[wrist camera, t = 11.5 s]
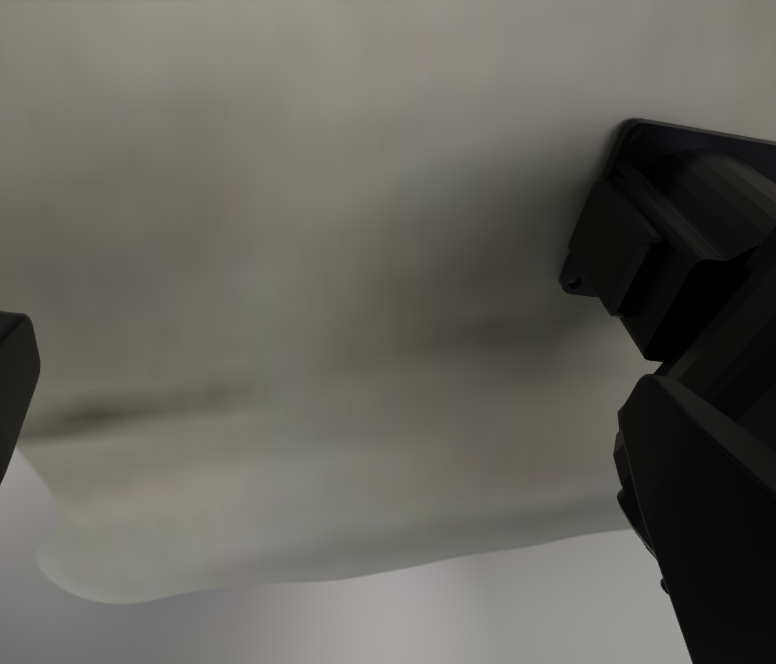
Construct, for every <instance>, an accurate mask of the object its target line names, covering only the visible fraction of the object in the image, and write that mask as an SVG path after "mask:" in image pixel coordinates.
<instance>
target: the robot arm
mask: <svg viewBox="0 0 776 664" xmlns="http://www.w3.org/2000/svg"><path fill="white" fill-rule="evenodd" d="M638 131H643V132H642V136H641V137H640V138H639V139H638V140H637V141H634V142H631V140H632V136H633V135H634V134H635V133H636V132H638ZM568 247H569V249H570V252H569V255H568V257H567V259H566V262H565V264H564V266H563V269H562V271H561V274H560V276H559V282H560V285H561V287H562V289H563V290H564V291H565V292H566V293H569V294H574V295H582V296H590V297H599V298H600V300H601V302H602V303H603V305H604V307H605V308H606V310H607V311H608V313H609V315H611V316H615V317H619V319H620V320H621V322H622V323H623V325H624V327H625V328H626V330H627V331H628V333H629V334H630V336H631V338H632V339H633V341H634V342H635V344H636V346H637V347H638V349H639V350H640V352H641V354H642V355H643V357H644V358H645V359H646V360H649V361H658V362H663V363H662V364H661V365H660V367H659V368H658V369H657V370H656V372H655V373H654V374H646V375H644V376H642V377H641V378H640V379H639V381H638V382H637V384H636V386H635V387H634V389H633V391H632V392H631V394H630V396H629V398H628V399H627V401H626V403H625V404H624V405H623V406H622V407H621V409H620V410H619V411H618V422H619V432H618V433H617V434H616V440H615V447H614V453H613V456H614V460H615V464H616V467H617V471H618V475H619V479H620V482H621V485H622V487H623V488H622V489H621V490H620V491H619V492H618V495H617V499H618V502H619V505H620V508H621V510H622V511H623V513H624V515H625V516H626V518H627V520H628V521H629V523H630V525H631V526H632V528H633V530H634V531H635V533H636V534H637V535H638V536H639V538H640V539H641V540H642V542H643V543H644V545H645V546H646V548H647V549H648V550H649V551H650V553H651V554H652V555H653V556H654V557H655V558H656V560H657V561H658V564H659V567H660V570H661V573H662V576H663V578H662V580H661V586H662V588H663V590H664V591H665V592H666V593H667V594H668V595H669V596H670V599H671V602H672V605H673V608H674V611H675V614H676V617H677V620H678V623H679V625H680V628H681V631H682V634H683V637H684V640H685V643H686V646H687V649H688V651H689V654H690V657H691V660H692V663H693V664H776V142H772V141H767V140H761V139H755V138H750V137H744V136H738V135H733V134H727V133H721V132H715V131H710V130H704V129H698V128H693V127H687V126H681V125H676V124H670V123H664V122H659V121H653V120H647V119H641V118H640V119H633V120H631V121H629V122H628V123H626V124H625V125H624V126H623V128H622V129H621V131H620V133H619V136H618V138H617V140H616V143H615V145H614V148H613V150H612V152H611V155H610V157H609V159H608V162H607V164H606V167H605V169H604V171H603V174H602V176H601V178H600V179H599V180H598V181H597V182H596V183H594V185H593V187H592V189H591V192H590V194H589V196H588V199H587V201H586V204H585V206H584V208H583V211H582V213H581V216H580V218H579V220H578V223H577V225H576V228H575V230H574V232H573V235H572V237H571V240H570V242H569V245H568ZM575 277H579V278H578V279H577V281H575V282H573V283H569V281H570V280H571V279H573V278H575ZM39 374H40V357H39V352H38V347H37V343H36V338H35V333H34V329H33V324H32V321H31V319H30V318H29V316H27V315H26V314H23V313H14V312H4V311H0V484H1V482H2V480H3V478H4V476H5V473H6V471H7V468H8V465H9V463H10V460H11V457H12V454H13V451H14V448H15V445H16V443H17V440H18V437H19V434H20V431H21V428H22V425H23V422H24V419H25V416H26V413H27V410H28V408H29V405H30V402H31V399H32V396H33V393H34V390H35V387H36V384H37V381H38V378H39Z"/></svg>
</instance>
